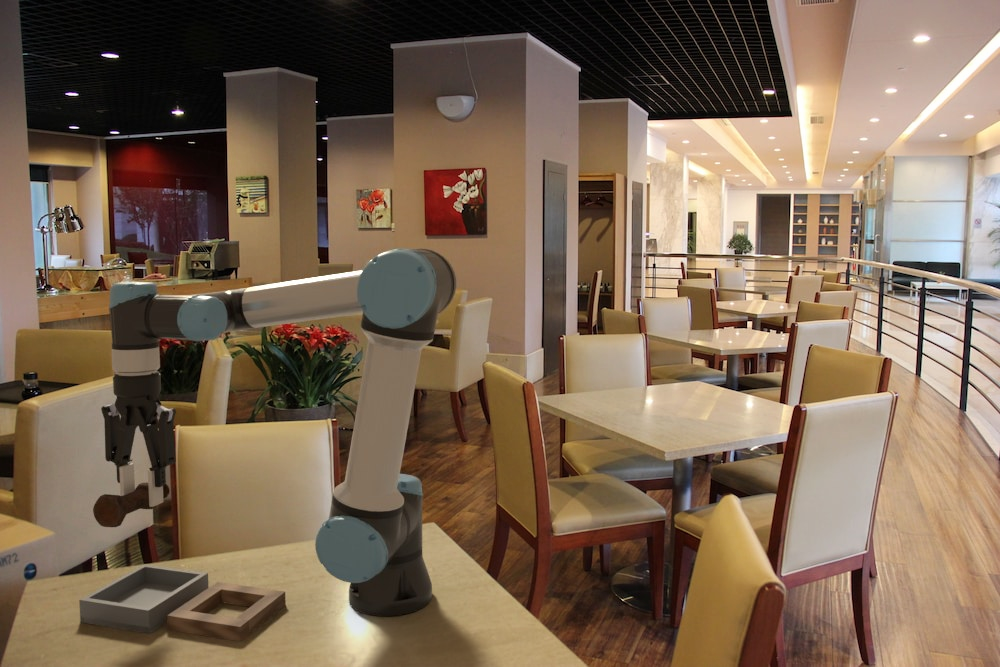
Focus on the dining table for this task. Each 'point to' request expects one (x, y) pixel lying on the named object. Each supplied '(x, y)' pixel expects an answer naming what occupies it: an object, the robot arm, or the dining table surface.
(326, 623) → the dining table surface
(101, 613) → the tray
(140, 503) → the bolt
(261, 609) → the rectangular frame
